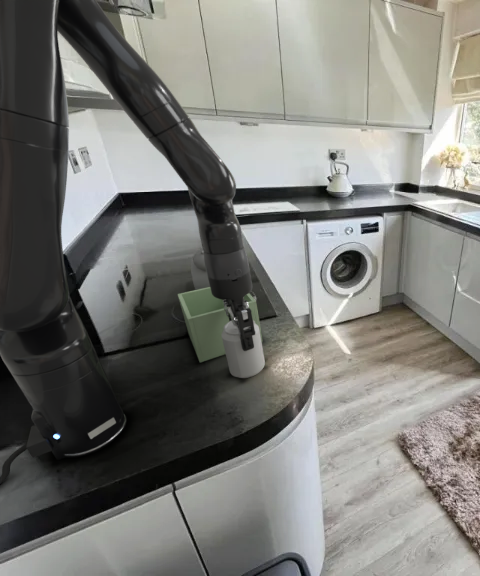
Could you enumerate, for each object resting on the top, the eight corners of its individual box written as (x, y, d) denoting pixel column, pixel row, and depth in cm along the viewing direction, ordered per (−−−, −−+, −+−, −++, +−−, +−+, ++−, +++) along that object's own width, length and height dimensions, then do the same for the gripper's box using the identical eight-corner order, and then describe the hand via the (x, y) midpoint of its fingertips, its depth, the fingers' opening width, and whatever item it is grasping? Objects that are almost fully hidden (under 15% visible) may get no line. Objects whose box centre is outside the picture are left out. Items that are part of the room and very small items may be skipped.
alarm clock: (229, 312, 95) (214, 241, 86) (197, 314, 94) (179, 242, 84) (240, 288, 110) (228, 225, 100) (212, 290, 108) (198, 225, 99)
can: (269, 358, 77) (262, 315, 72) (259, 380, 70) (251, 334, 65) (237, 358, 77) (228, 315, 71) (224, 380, 70) (213, 334, 65)
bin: (199, 362, 75) (187, 319, 70) (188, 333, 85) (177, 294, 80) (262, 341, 83) (256, 301, 78) (245, 317, 93) (238, 280, 88)
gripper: (199, 262, 66) (216, 330, 73) (216, 288, 55) (233, 363, 63) (238, 255, 70) (250, 320, 77) (260, 278, 60) (271, 350, 67)
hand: (242, 339), depth 70 cm, fingers closed on can, 7 cm apart
